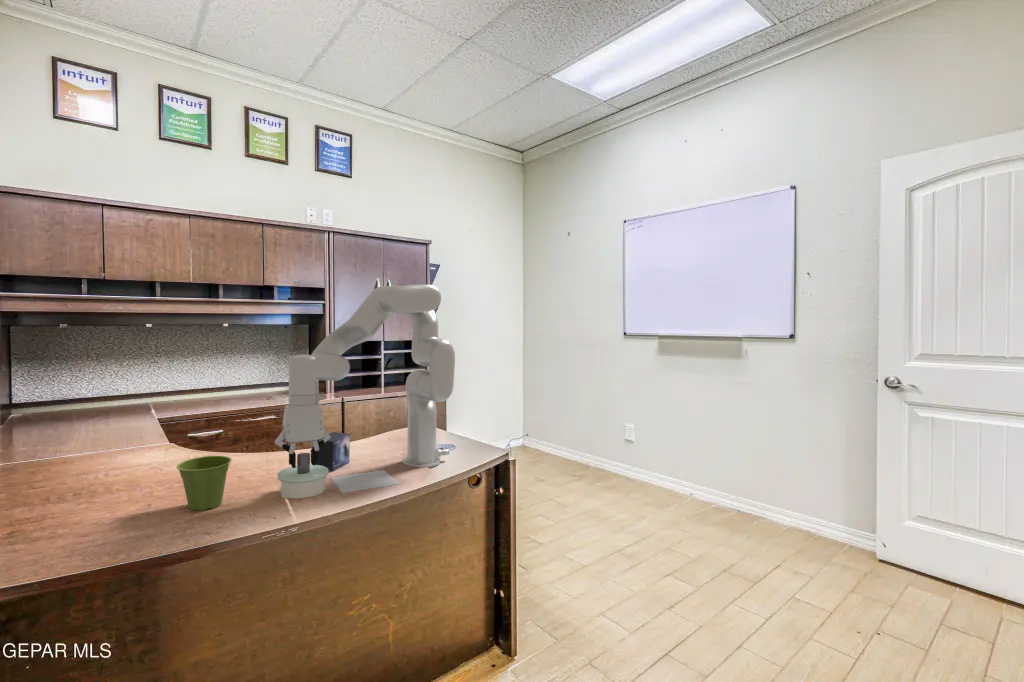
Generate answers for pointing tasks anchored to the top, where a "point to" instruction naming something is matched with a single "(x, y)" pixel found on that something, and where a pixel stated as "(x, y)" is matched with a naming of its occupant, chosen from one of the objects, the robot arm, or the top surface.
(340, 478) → the mat
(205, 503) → the plant pot
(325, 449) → the small box
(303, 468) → the lid
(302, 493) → the bowl
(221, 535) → the top surface
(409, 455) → the robot arm
